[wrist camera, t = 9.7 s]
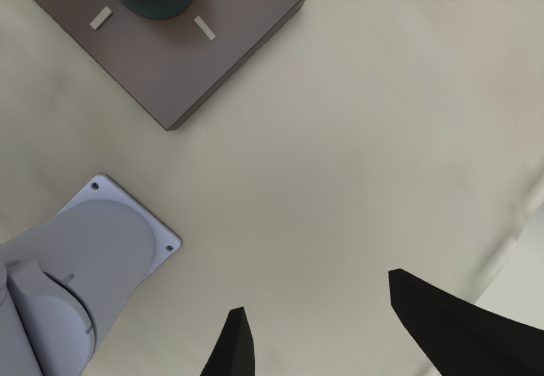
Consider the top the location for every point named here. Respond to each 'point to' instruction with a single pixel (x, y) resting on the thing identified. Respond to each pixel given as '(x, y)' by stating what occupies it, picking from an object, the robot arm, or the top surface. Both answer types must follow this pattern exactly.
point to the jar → (156, 7)
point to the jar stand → (171, 46)
